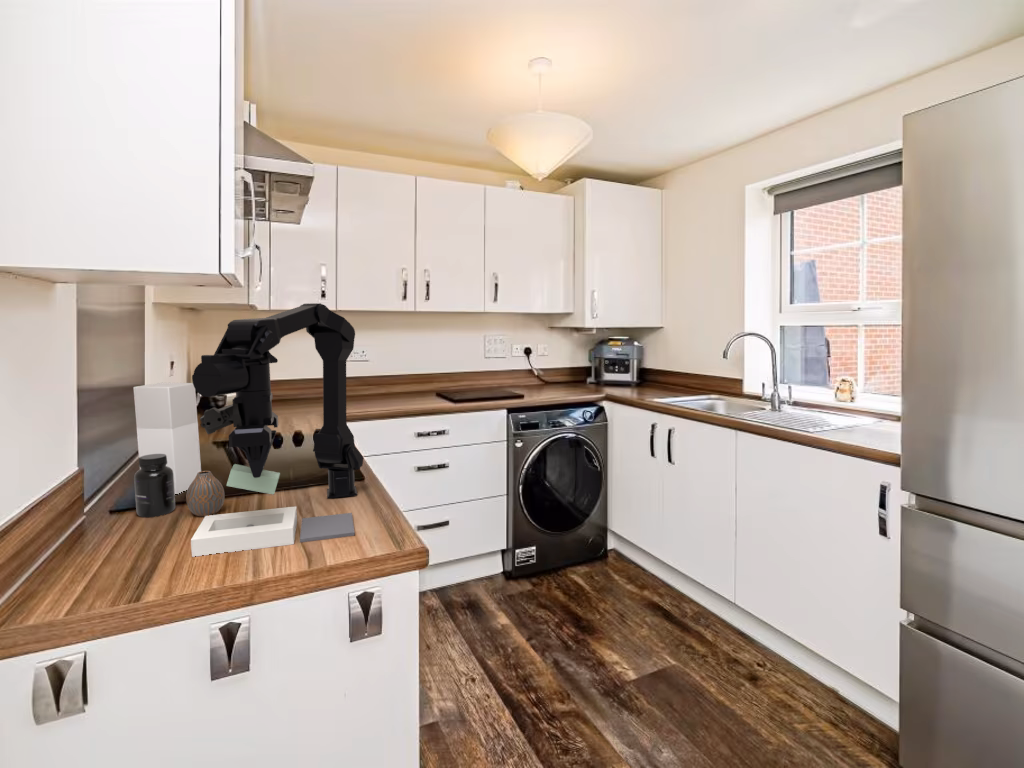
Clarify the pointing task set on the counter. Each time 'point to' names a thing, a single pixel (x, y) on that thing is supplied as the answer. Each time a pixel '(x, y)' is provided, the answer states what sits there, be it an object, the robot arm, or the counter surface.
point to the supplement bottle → (154, 486)
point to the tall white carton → (169, 428)
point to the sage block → (253, 479)
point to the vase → (205, 494)
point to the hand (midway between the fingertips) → (258, 474)
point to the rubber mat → (327, 527)
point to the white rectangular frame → (245, 531)
